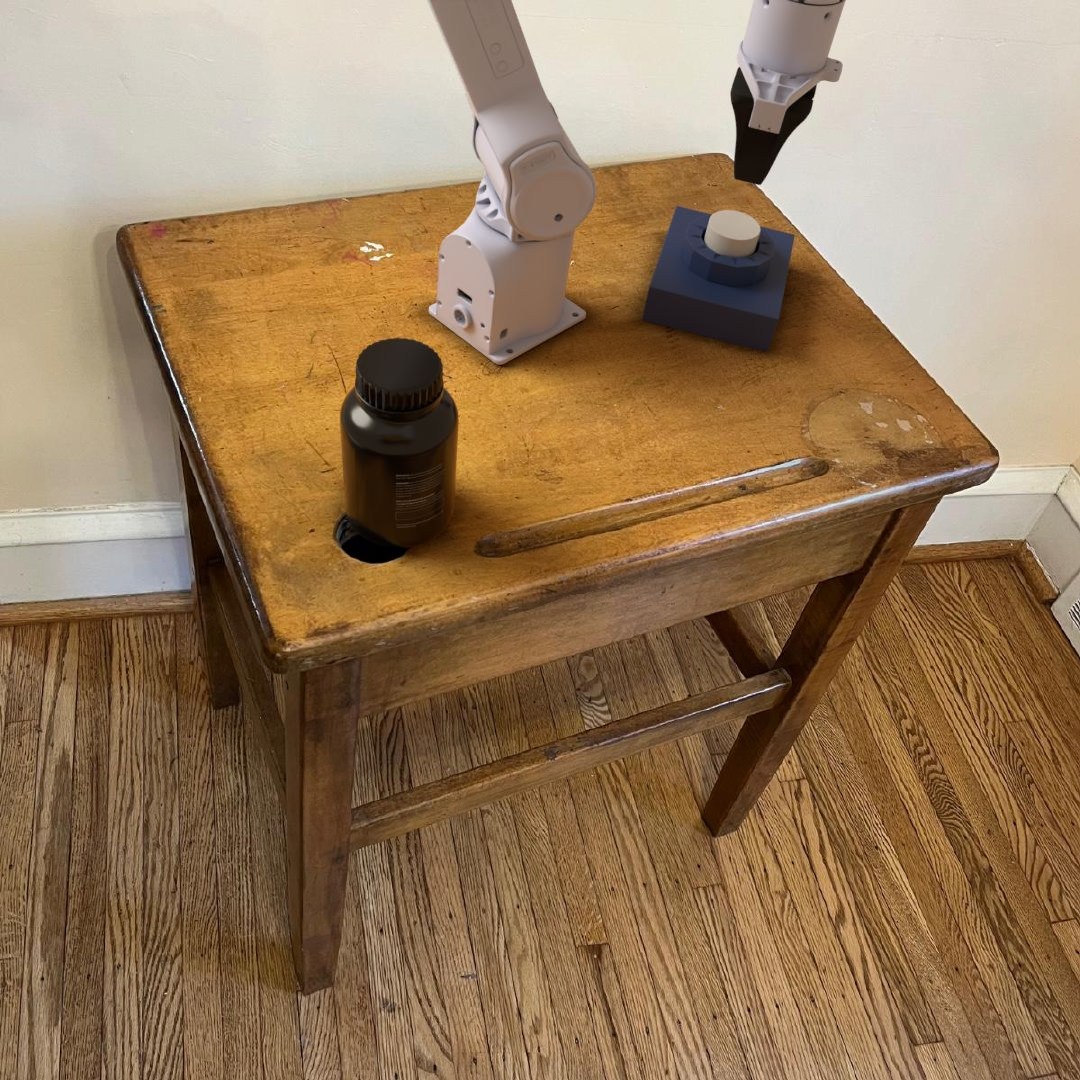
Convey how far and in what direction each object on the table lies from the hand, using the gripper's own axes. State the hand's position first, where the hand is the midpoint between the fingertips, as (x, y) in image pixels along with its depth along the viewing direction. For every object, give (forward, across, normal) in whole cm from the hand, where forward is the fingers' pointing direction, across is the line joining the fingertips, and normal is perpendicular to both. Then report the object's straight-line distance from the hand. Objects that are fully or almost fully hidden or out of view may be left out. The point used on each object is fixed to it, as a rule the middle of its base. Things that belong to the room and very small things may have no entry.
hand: (748, 177), depth 79 cm
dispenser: (+10, 0, 0) cm, 10 cm away
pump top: (+6, 0, 0) cm, 6 cm away
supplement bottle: (+10, -31, +16) cm, 37 cm away
